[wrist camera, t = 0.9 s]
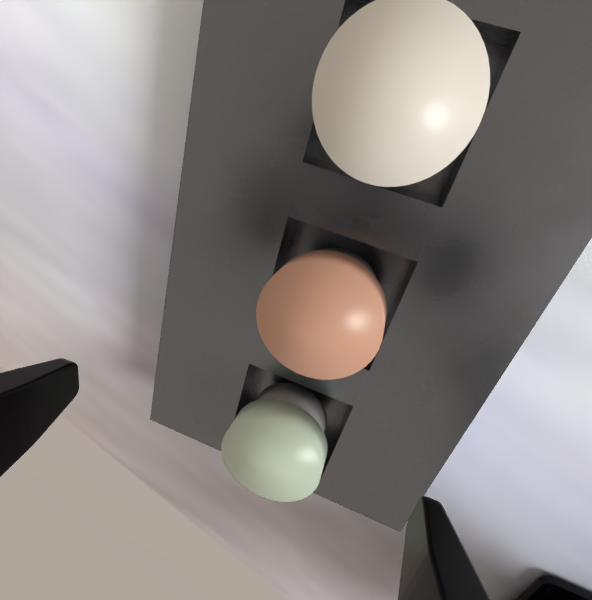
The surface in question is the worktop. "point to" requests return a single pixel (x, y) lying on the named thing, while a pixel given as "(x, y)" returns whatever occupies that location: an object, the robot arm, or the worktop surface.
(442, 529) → the robot arm
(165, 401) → the console
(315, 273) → the button terracotta
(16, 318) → the worktop surface
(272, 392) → the button sage
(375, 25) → the button ivory
